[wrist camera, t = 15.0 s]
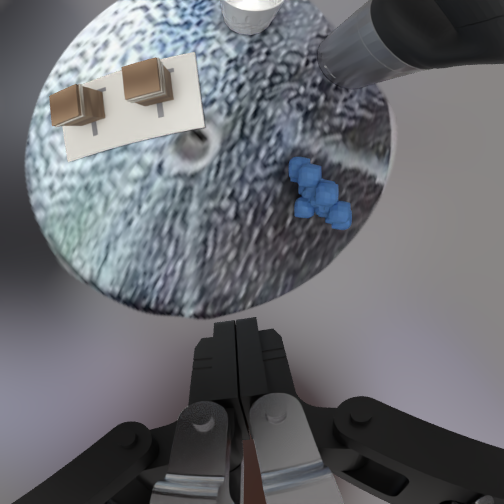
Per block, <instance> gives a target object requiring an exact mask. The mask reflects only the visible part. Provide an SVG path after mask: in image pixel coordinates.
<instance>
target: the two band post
mask: <svg viewBox="0 0 504 504" xmlns="http://www.w3.org/2000/svg"><path fill="white" fill-rule="evenodd" d="M122 77H123V87H124V96H125V100H126V101H127V102H130V103H137V104H140V105H142V106H149V105H153V104H157V103H161V102H165V101H170V100H174V98H173V90H172V82H171V74H170V72H169V71H168V70H167V68H166V67H165V66H164V65H163V62H162V61H160V59H159V58H152V59H148V60H145V61H141V62H137V63H134V64H131V65H127V66H124V67H122Z"/></svg>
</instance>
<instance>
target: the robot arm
mask: <svg viewBox="0 0 504 504" xmlns="http://www.w3.org/2000/svg"><path fill="white" fill-rule="evenodd" d="M317 58H318V63H319V66H320V68H321V70H322V72H323V73H324V75H325V76H326V77H327V78H328V79H329V80H330V81H332V82H333V83H334V84H336V85H338V86H340V87H343V88H347V89H358V88H361V87H365V86H368V85H372V84H375V83H378V82H382V81H386V80H389V79H393V78H396V77H400V76H404V75H408V74H412V73H415V72H420V71H424V70H429V69H433V68H437V69H438V68H447V67H453V66H462V65H475V64H476V65H477V64H504V0H369V1H368V2H366V3H365V4H364V5H363V6H362V7H361V8H359V9H358V10H357V11H356V12H355V13H353V14H352V15H351V16H350V17H349V18H348V19H347V20H345V21H344V22H343V23H342V24H341V25H340V26H339V27H337V28H336V29H335V30H334V31H333V32H332V33H331V34H330V35H329V36H328V37H327V38H325V39H324V40H323V41H322V42H321V44H320V46H319V49H318V55H317ZM249 430H250V434H251V437H252V439H254V442H255V447H256V452H257V457H258V462H259V466H260V471H261V476H262V483H263V489H264V493H265V498H266V502H267V504H344V502H343V499H342V497H341V494H340V491H339V489H338V487H337V484H336V481H335V479H334V476H333V474H332V473H334V474H335V475H337V476H338V477H340V478H342V479H344V480H346V481H347V482H349V483H351V484H353V485H355V486H357V487H359V488H360V489H362V490H364V491H366V492H368V493H370V494H372V495H374V496H376V497H378V498H380V499H382V500H384V501H386V502H388V503H390V504H504V449H502V448H499V447H496V446H492V445H489V444H486V443H483V442H480V441H477V440H474V439H471V438H468V437H466V436H463V435H460V434H457V433H454V432H452V431H449V430H446V429H444V428H441V427H439V426H436V425H434V424H431V423H428V422H426V421H423V420H421V419H419V418H416V417H414V416H412V415H409V414H407V413H405V412H402V411H400V410H398V409H395V408H393V407H391V406H389V405H386V404H384V403H382V402H380V401H377V400H375V399H373V398H370V397H364V396H359V397H353V398H350V399H348V400H345V401H344V402H342V403H341V404H340V405H339V406H338V408H322V407H315V406H311V405H309V404H306V403H305V402H303V401H302V400H301V399H300V398H299V397H298V395H297V394H296V392H295V388H294V384H293V380H292V376H291V373H290V369H289V365H288V361H287V358H286V353H285V350H284V345H283V341H282V337H281V336H280V335H279V334H278V333H277V332H276V331H275V330H274V329H268V330H261V331H258V326H257V320H256V317H253V318H247V319H239V320H236V323H235V321H234V320H232V321H225V322H217V323H214V333H213V337H210V338H202V339H201V340H200V342H199V343H198V345H197V346H196V348H195V351H194V362H193V371H192V376H191V385H190V395H189V404H188V407H186V408H185V409H184V410H183V411H182V412H181V413H180V415H179V417H178V420H177V421H175V422H174V423H171V424H169V425H166V426H162V427H159V428H155V429H151V430H149V429H148V428H147V427H146V426H145V425H143V424H141V423H138V422H124V423H121V424H119V425H117V426H116V427H115V428H113V429H112V430H111V431H110V432H108V433H107V434H106V435H105V436H103V437H102V438H101V439H99V440H98V441H97V442H96V443H94V444H93V445H92V446H91V447H90V448H88V449H87V450H85V451H84V452H83V453H81V454H80V455H79V456H77V457H76V458H75V459H74V460H72V461H71V462H70V463H68V464H67V465H66V466H65V467H63V468H62V469H60V470H59V471H57V472H56V473H55V474H53V475H52V476H51V477H49V478H48V479H47V480H45V481H44V482H42V483H41V484H39V485H38V486H37V487H35V488H34V489H32V490H31V491H30V492H28V493H27V494H25V495H24V496H22V497H21V498H20V499H18V500H16V501H15V502H13V503H12V504H243V483H244V458H243V443H242V440H249V439H250V435H249Z"/></svg>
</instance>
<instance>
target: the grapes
mask: <svg viewBox="0 0 504 504" xmlns="http://www.w3.org/2000/svg"><path fill="white" fill-rule="evenodd" d="M289 177H290V178H291V181H292V182H297V183H298V185H299V187H298V192H299V194H300V195H302V197H300V198H298V199H297V200H296V202H295V206H294V212H295V217H300V218H310V217H312V216H313V215H314V212H316V214H317V215H319V216H318V217H325V223H330V224H332V228H334V229H340V230H346V229H348V228H349V227H350V226H351V222H352V211H350V209H351V208H350V203H348V202H344V201H338V196H339V193H338V184H335V182H334V181H330V180H324V179H322V172H321V166H319V165H315V164H310V159H308V158H304V157H293V158H292V159H291V160H290V162H289Z"/></svg>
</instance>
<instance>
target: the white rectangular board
mask: <svg viewBox="0 0 504 504" xmlns="http://www.w3.org/2000/svg"><path fill="white" fill-rule="evenodd" d="M160 61H162V62H163V65H164V66H165V67H166V68H167V70H168V71H169V72H170V74H171V82H172V90H173V98H174V100H170V101H165V102H161V103H157V104H153V105H149V106H142V105H140V104H137V103H130V102H127V101H126V100H125V96H124V87H123V77H122V70H121V71H118V72H115V73H112V74H109V75H106V76H103V77H100V78H97V79H95V80H92V81H89V82H87V83H84V84H82V86H84V87H88V88H91V89H94V90H98V91H101V92H102V93H103V103H104V111H105V118H103V119H100V120H97V121H95V122H92V123H89V124H86V125H83V126H63V133H64V140H65V147H66V153H67V159H68V162H71V161H74V160H77V159H80V158H83V157H87V156H90V155H93V154H96V153H99V152H103V151H106V150H109V149H113V148H116V147H120V146H124V145H127V144H131V143H135V142H139V141H143V140H147V139H151V138H156V137H160V136H165V135H169V134H174V133H179V132H184V131H189V130H194V129H200V128H205V121H204V114H203V106H202V99H201V92H200V84H199V77H198V69H197V61H196V54H195V52H192V53H187V54H182V55H177V56H173V57H168V58H164V59H160Z"/></svg>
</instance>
